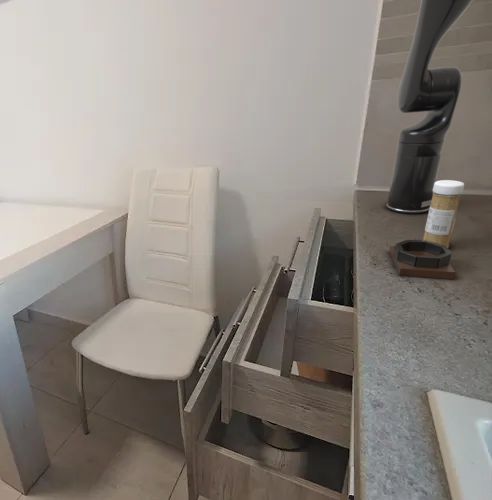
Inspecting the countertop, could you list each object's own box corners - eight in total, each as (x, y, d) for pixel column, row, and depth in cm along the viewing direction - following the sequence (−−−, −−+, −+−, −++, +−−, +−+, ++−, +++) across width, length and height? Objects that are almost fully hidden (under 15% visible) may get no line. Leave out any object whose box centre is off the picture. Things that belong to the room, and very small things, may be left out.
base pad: (389, 252, 76) (392, 236, 74) (437, 255, 73) (440, 239, 71) (399, 275, 67) (402, 258, 66) (453, 279, 64) (458, 261, 63)
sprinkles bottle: (452, 245, 75) (469, 181, 70) (442, 252, 73) (459, 186, 68) (426, 239, 79) (440, 178, 74) (416, 246, 77) (430, 183, 71)
